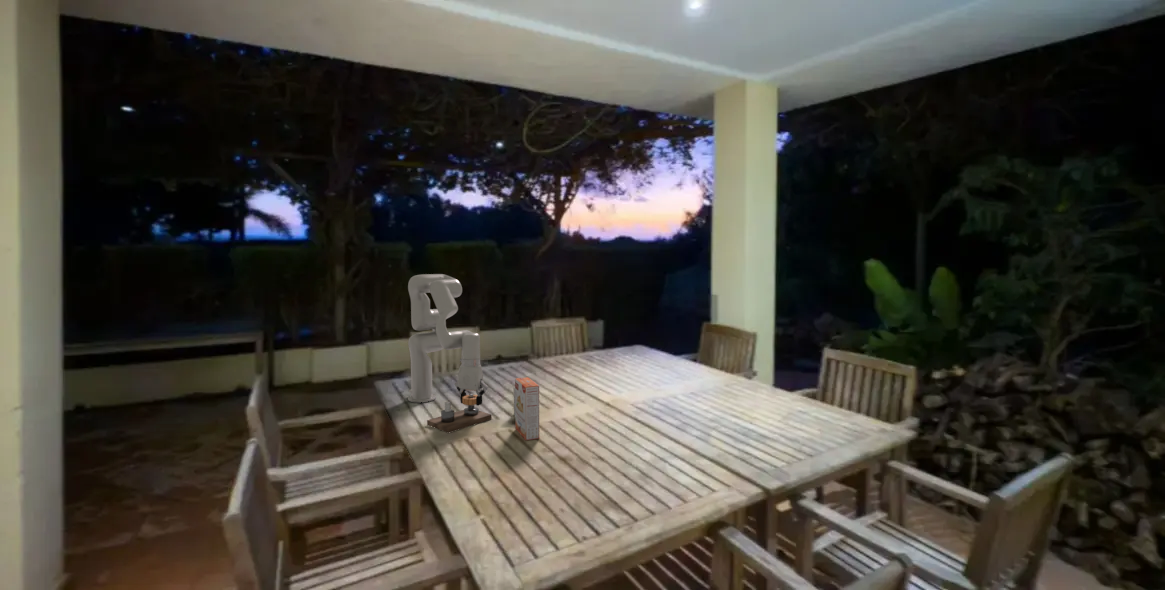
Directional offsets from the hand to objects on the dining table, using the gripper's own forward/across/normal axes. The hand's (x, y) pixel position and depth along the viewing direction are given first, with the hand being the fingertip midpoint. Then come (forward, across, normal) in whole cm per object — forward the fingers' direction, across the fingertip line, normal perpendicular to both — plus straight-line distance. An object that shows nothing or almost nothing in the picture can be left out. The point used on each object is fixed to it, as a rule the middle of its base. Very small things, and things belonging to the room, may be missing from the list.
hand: (471, 403), depth 222 cm
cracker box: (+7, +30, -6) cm, 32 cm away
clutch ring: (0, 0, 0) cm, 0 cm away
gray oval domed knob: (+5, -3, -12) cm, 13 cm away
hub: (+5, 0, 0) cm, 5 cm away
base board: (+7, -2, -6) cm, 9 cm away
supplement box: (+7, +17, +15) cm, 23 cm away
